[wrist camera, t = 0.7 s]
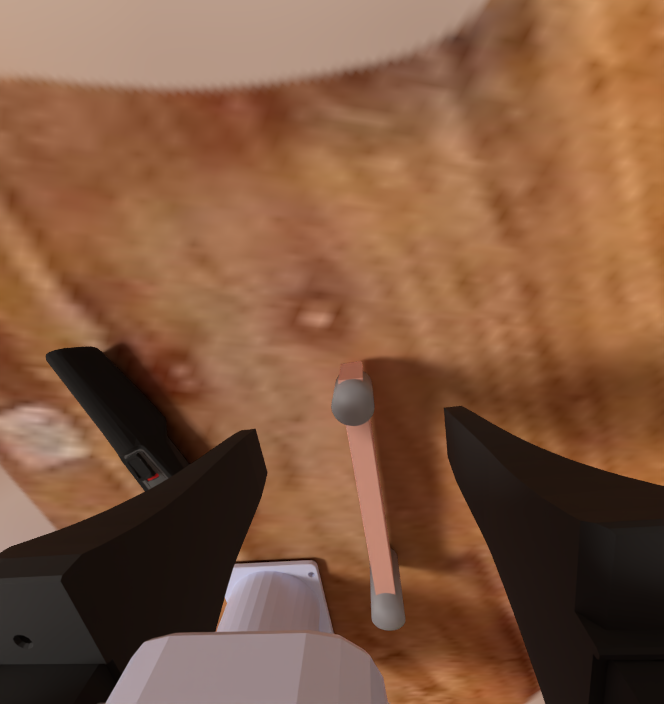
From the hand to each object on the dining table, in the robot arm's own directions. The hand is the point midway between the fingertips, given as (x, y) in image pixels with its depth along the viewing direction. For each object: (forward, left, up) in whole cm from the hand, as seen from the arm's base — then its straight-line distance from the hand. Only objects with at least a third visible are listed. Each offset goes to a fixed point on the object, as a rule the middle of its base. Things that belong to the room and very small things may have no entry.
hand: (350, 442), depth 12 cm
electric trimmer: (-3, +14, -8) cm, 17 cm away
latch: (-7, 0, -7) cm, 10 cm away
